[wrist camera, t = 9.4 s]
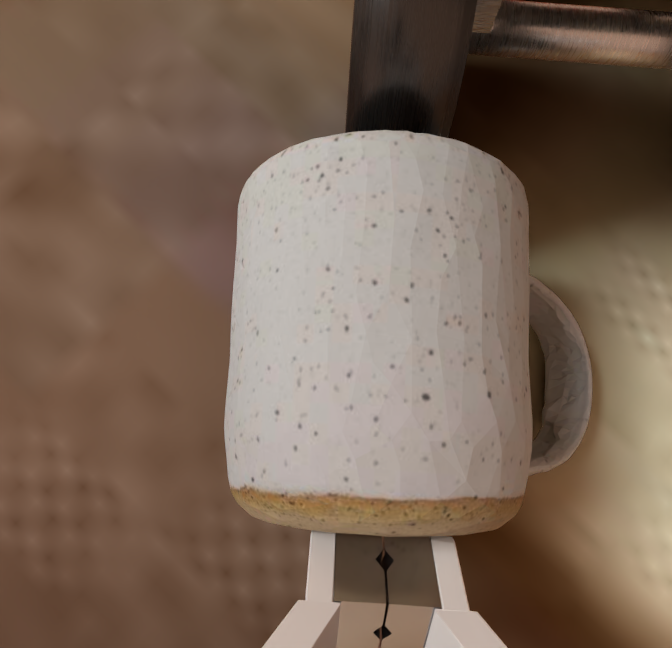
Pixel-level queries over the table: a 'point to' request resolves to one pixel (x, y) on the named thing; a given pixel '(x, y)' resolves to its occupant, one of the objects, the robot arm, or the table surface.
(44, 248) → the table surface
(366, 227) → the ceramic mug
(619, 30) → the trolley
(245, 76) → the table surface
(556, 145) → the table surface
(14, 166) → the table surface
